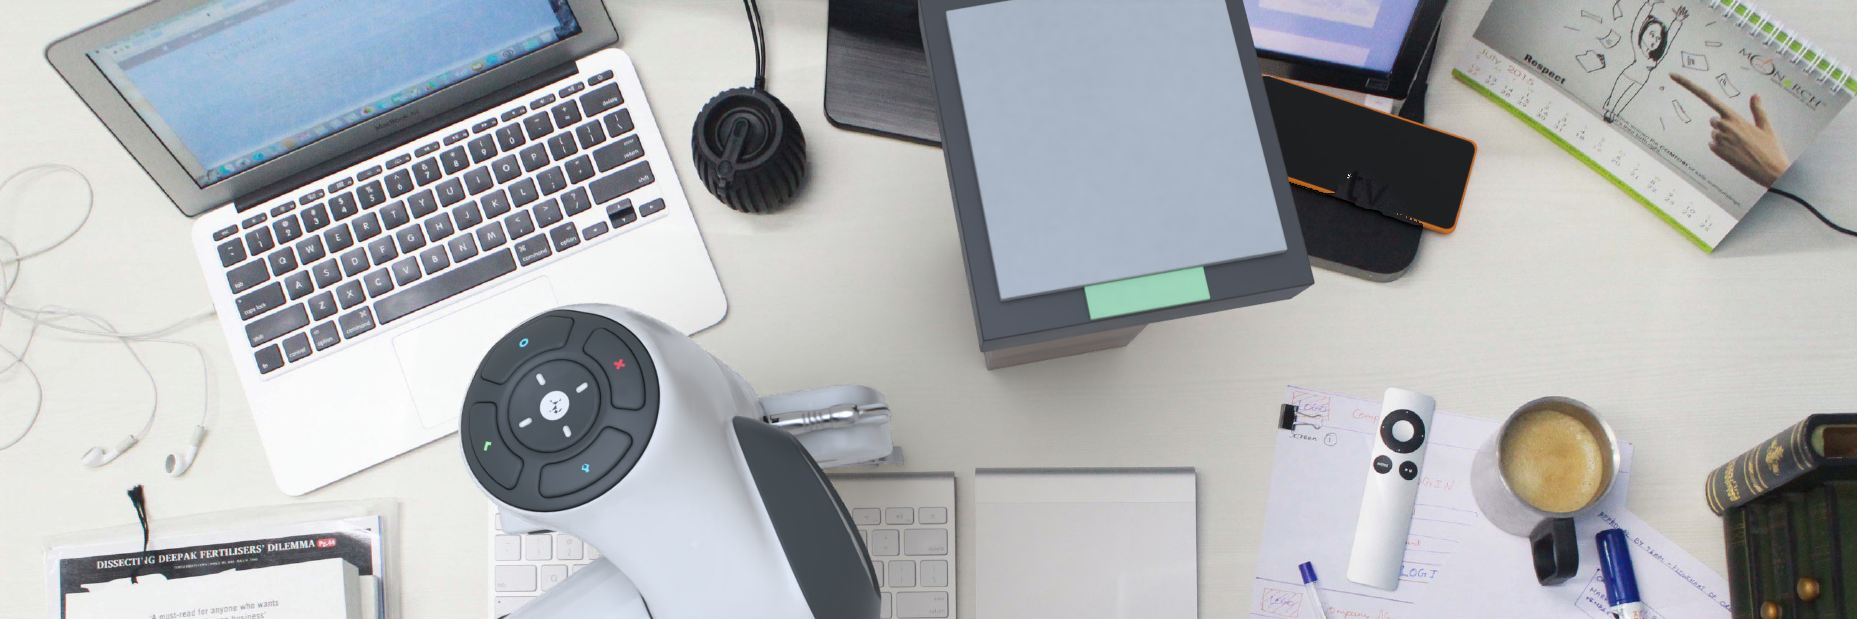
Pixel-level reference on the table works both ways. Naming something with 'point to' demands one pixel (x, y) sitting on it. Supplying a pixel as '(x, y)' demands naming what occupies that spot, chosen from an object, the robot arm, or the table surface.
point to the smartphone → (1371, 151)
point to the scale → (1109, 163)
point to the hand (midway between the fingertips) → (730, 458)
